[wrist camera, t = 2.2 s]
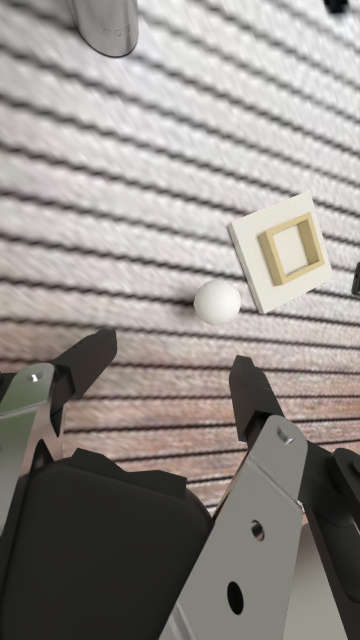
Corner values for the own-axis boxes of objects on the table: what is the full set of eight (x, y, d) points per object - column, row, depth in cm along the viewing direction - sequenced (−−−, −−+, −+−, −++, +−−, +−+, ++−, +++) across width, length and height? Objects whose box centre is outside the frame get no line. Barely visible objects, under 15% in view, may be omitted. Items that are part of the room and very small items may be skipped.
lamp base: (227, 226, 28) (237, 215, 25) (302, 196, 31) (321, 181, 27) (259, 313, 31) (272, 314, 28) (325, 279, 34) (345, 275, 30)
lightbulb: (198, 327, 29) (227, 338, 18) (176, 304, 28) (192, 301, 17) (220, 304, 29) (260, 302, 19) (198, 281, 28) (228, 264, 17)
